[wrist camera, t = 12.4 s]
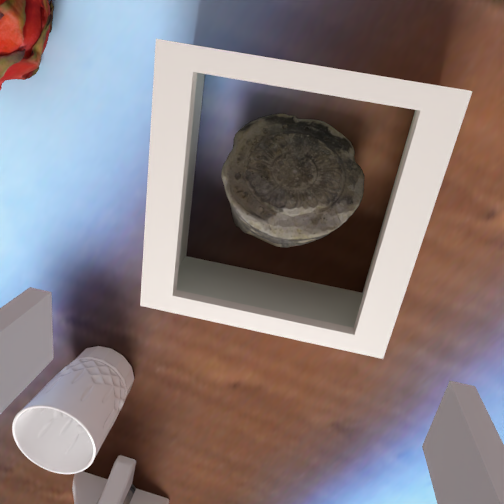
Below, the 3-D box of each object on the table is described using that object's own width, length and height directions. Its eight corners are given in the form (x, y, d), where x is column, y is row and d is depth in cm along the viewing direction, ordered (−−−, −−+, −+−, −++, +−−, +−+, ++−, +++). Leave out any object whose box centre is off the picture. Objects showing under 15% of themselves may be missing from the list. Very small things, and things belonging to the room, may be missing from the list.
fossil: (357, 97, 33) (375, 184, 26) (356, 188, 40) (370, 275, 33) (217, 115, 35) (202, 201, 28) (239, 199, 41) (231, 284, 35)
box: (438, 88, 32) (472, 91, 25) (372, 306, 40) (382, 358, 32) (192, 47, 34) (156, 38, 26) (172, 265, 41) (140, 305, 34)
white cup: (110, 411, 50) (61, 486, 40) (58, 365, 48) (-4, 432, 39) (154, 377, 47) (112, 450, 38) (100, 327, 45) (43, 390, 36)
